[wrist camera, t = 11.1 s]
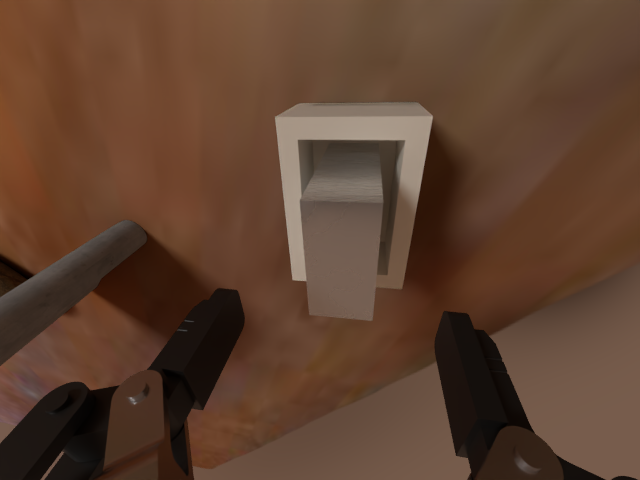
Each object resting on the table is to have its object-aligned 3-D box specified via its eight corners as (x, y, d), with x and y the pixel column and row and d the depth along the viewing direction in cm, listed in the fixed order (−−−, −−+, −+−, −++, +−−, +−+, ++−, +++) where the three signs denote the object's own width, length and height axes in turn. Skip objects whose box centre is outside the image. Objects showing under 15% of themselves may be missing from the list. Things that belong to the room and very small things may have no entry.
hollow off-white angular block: (417, 102, 19) (432, 116, 14) (396, 244, 26) (402, 289, 21) (298, 103, 20) (275, 117, 15) (307, 239, 27) (292, 279, 22)
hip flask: (92, 291, 37) (-137, 478, 20) (63, 270, 35) (-207, 454, 19) (152, 236, 30) (-123, 455, 13) (120, 208, 28) (-233, 414, 12)
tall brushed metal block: (378, 143, 20) (383, 203, 11) (372, 228, 23) (372, 320, 15) (329, 143, 20) (299, 200, 12) (331, 226, 24) (309, 314, 16)
